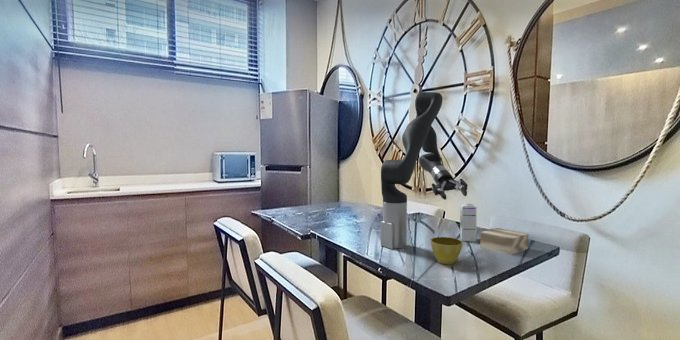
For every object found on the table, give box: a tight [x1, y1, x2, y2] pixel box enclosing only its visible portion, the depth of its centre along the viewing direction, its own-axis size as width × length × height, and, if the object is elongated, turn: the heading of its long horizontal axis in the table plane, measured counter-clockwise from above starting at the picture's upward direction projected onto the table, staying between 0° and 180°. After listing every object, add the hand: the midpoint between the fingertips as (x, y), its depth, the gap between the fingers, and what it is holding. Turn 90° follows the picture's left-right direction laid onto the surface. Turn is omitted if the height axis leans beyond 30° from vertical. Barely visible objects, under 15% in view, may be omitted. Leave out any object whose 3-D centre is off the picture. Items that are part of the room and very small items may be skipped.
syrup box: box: [459, 203, 478, 243], centre depth 143 cm, size 6×6×14 cm
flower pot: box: [430, 236, 463, 265], centre depth 116 cm, size 10×10×7 cm
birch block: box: [479, 227, 529, 255], centre depth 132 cm, size 12×12×6 cm
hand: (455, 196), depth 145 cm, fingers open, 8 cm apart
